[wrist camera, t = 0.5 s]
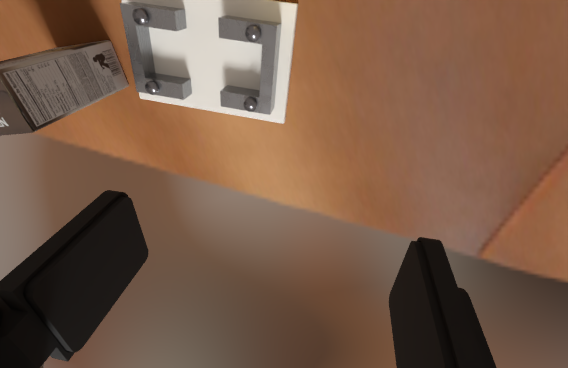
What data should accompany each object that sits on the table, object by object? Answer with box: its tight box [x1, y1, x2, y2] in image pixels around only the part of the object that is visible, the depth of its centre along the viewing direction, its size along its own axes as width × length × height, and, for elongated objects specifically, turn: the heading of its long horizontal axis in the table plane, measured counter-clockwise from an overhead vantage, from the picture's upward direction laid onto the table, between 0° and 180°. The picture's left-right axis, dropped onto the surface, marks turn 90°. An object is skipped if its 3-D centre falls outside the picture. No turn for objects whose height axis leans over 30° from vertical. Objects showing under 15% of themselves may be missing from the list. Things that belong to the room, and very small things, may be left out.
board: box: [122, 0, 298, 124], centre depth 37 cm, size 14×21×1 cm, turn 84°
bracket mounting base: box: [120, 2, 282, 115], centre depth 36 cm, size 10×18×3 cm, turn 84°
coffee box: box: [0, 40, 129, 135], centre depth 35 cm, size 9×6×16 cm
